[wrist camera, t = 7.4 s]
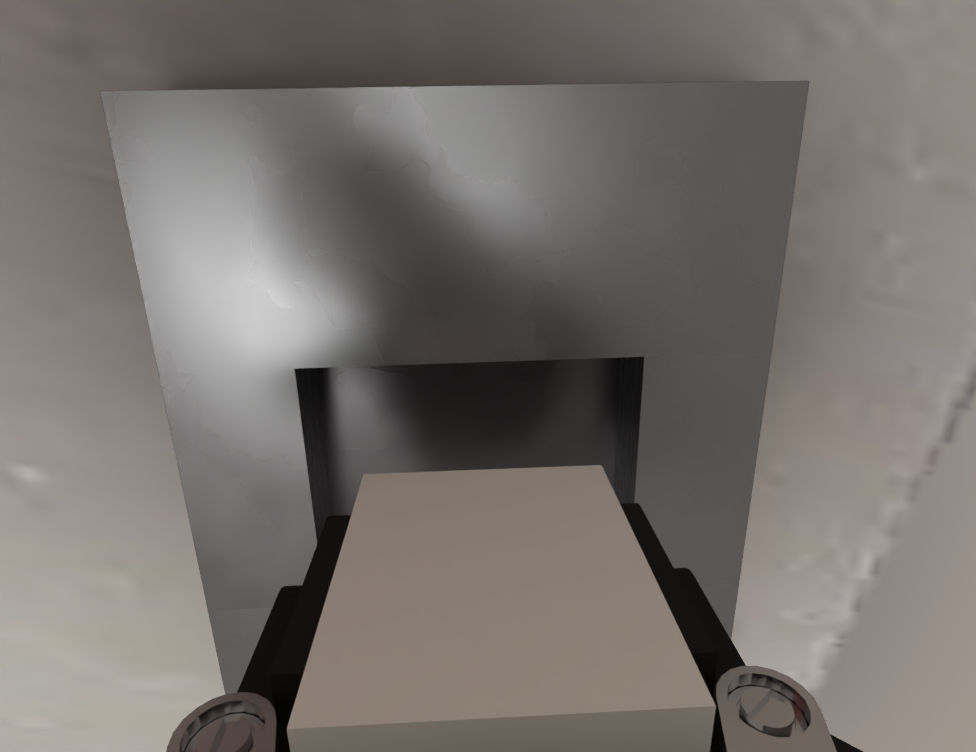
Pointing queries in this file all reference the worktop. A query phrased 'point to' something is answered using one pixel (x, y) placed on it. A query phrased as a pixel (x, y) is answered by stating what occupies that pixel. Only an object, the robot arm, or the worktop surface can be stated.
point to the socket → (456, 303)
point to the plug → (497, 624)
